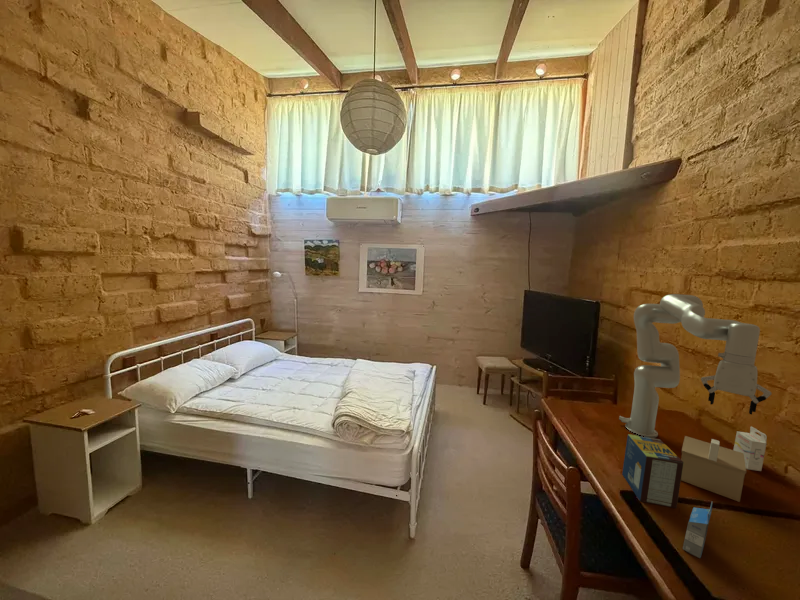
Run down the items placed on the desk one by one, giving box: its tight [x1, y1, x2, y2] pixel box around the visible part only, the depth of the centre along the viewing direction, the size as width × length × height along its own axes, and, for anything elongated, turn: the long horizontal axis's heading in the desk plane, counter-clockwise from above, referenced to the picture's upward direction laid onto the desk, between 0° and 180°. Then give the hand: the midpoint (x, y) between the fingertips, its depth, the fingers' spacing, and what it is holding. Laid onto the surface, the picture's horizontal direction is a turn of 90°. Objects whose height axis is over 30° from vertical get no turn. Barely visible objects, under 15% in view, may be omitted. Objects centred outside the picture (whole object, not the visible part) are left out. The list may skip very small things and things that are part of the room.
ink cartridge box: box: [733, 425, 767, 472], centre depth 137 cm, size 9×5×15 cm, turn 168°
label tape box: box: [682, 502, 713, 559], centre depth 92 cm, size 9×4×12 cm, turn 133°
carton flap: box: [681, 435, 747, 475], centre depth 123 cm, size 16×16×7 cm
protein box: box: [621, 433, 684, 509], centre depth 116 cm, size 10×15×16 cm
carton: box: [680, 453, 746, 503], centre depth 124 cm, size 16×16×10 cm
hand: (730, 408), depth 118 cm, fingers open, 9 cm apart
